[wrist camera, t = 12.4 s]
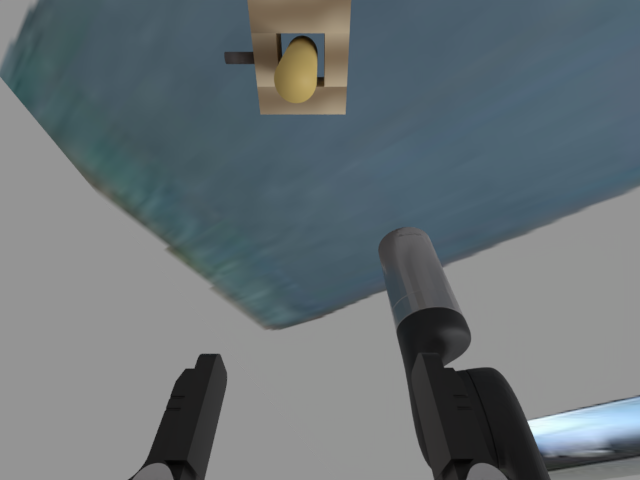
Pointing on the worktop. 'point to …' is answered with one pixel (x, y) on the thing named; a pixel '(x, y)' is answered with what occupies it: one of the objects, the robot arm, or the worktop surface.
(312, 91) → the peg
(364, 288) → the worktop surface
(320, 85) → the socket mount
